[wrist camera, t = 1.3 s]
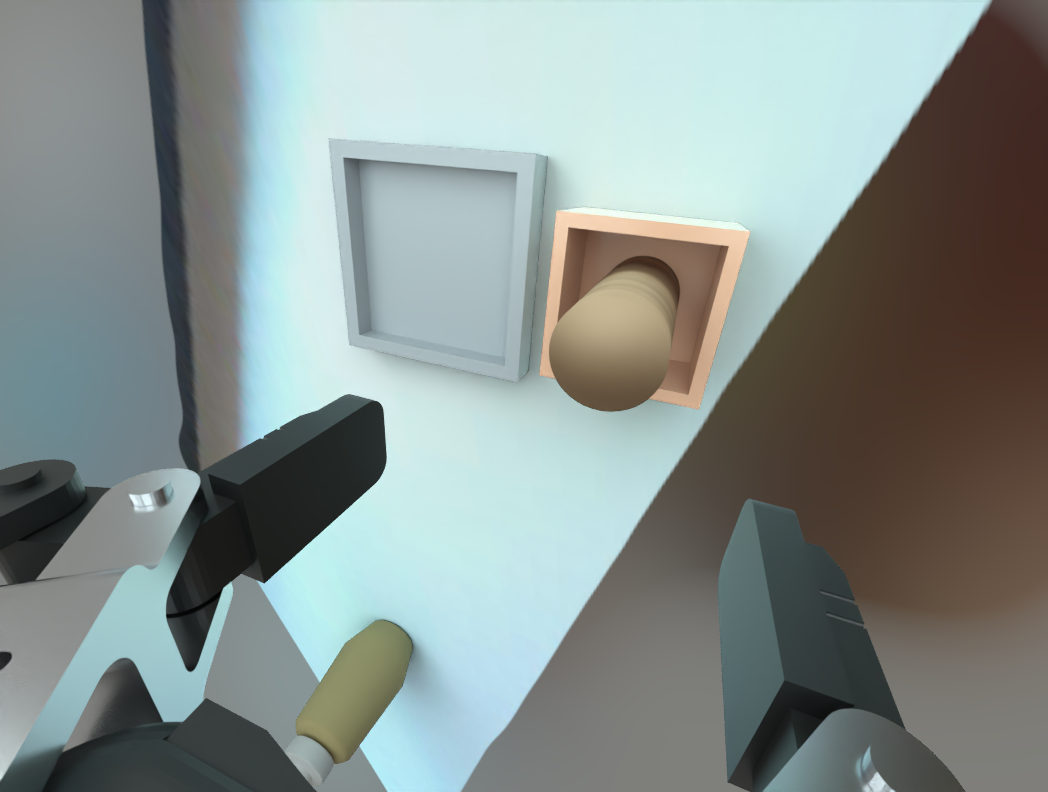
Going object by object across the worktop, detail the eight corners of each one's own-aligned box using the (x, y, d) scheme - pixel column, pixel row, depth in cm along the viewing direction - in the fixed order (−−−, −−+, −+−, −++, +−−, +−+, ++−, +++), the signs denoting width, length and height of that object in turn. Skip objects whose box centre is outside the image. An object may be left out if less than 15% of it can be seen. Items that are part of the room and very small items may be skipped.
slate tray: (352, 141, 30) (328, 138, 28) (547, 156, 27) (535, 153, 25) (368, 336, 36) (349, 345, 35) (528, 370, 33) (517, 382, 31)
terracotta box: (583, 206, 27) (556, 210, 22) (739, 223, 25) (750, 231, 19) (565, 344, 31) (539, 375, 26) (698, 370, 29) (699, 409, 23)
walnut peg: (610, 250, 27) (555, 288, 16) (688, 261, 25) (682, 308, 15) (598, 323, 29) (543, 397, 18) (670, 336, 27) (654, 423, 17)
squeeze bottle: (422, 627, 50) (301, 818, 35) (422, 670, 54) (312, 860, 39) (362, 602, 53) (223, 772, 37) (366, 645, 56) (241, 816, 41)
